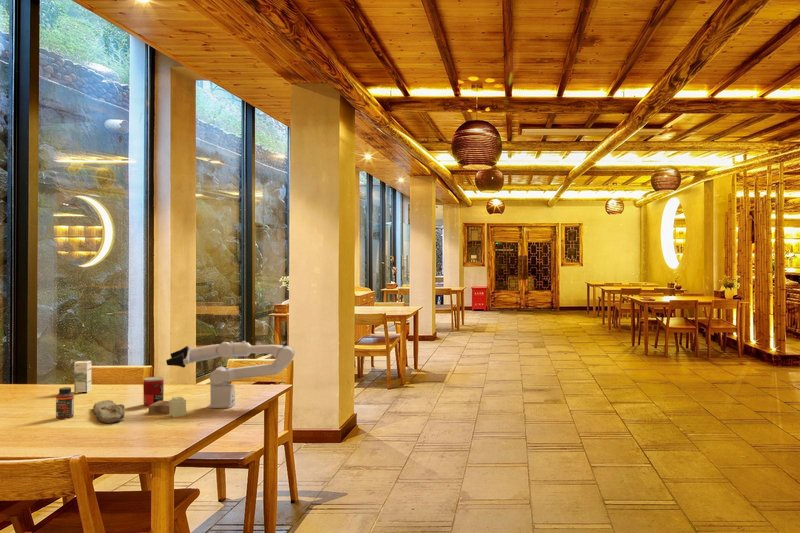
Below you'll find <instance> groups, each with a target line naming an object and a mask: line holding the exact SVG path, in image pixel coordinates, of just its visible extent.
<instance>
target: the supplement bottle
mask: <svg viewBox="0 0 800 533" xmlns="http://www.w3.org/2000/svg"><path fill="white" fill-rule="evenodd" d="M74 395H75V393H73V392H72V387H68V386H67V387H60V388H59V390H58V393H57V394H56V396H55V418H56V419H58V420H66V419H65V418H68V419H71V418H73V417H74V413H75V412H74V409H75V408H74V405H75V404H74V402H75V400H74V399H75V396H74Z"/></svg>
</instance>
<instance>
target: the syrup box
mask: <svg viewBox="0 0 800 533" xmlns="http://www.w3.org/2000/svg"><path fill="white" fill-rule="evenodd" d="M73 364H74V367H73V368H74V371H73V373H74V379H73V380H74V387H73V388H74V389H73V390H74V391H73V392H88V391H90V390H91V391H92V360H77V361H75V362H73ZM91 391H90V392H91ZM88 393H89V392H88Z"/></svg>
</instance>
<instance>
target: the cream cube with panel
mask: <svg viewBox="0 0 800 533" xmlns="http://www.w3.org/2000/svg"><path fill="white" fill-rule="evenodd" d="M168 401H169V414H168V415H169V416H170V417H173V418H179V417H185V416H186V415H187V399H185V398H184V397H182V396H175V397H171V399H169V400H168ZM178 416H179V417H178Z"/></svg>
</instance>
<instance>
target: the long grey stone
mask: <svg viewBox="0 0 800 533" xmlns="http://www.w3.org/2000/svg"><path fill="white" fill-rule="evenodd" d="M92 408H93V409H92V412H94V416H95V418H97V420H99V421H100V423H106V424H110V423H112V424H113V423H118V422H119V423H120V422H121V421H122V420H123V419H124V418H125V411H124V409H125V405H124V404H122V403H121V404H117V403H116V402H114V401H113V400H109V399H107V400H101V401H98V402H95V403H94V405H93V407H92Z"/></svg>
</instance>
